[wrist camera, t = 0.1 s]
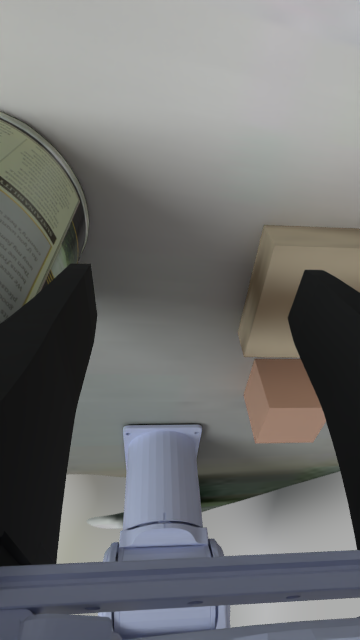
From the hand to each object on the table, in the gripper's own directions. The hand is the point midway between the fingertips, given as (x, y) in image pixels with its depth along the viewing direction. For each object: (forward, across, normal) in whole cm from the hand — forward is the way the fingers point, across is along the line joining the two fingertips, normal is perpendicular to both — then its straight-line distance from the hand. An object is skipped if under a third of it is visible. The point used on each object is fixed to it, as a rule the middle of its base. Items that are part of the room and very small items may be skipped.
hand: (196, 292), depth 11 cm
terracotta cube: (+10, -10, +17) cm, 22 cm away
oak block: (+11, -10, +7) cm, 16 cm away
